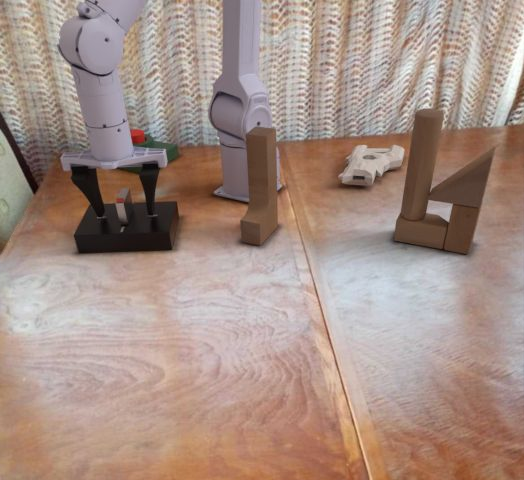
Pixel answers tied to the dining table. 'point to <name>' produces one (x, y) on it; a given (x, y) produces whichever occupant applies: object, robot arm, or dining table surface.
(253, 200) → the wooden block
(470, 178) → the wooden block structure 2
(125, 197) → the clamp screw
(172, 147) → the box
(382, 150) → the gun
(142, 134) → the release button
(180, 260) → the dining table surface
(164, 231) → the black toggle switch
